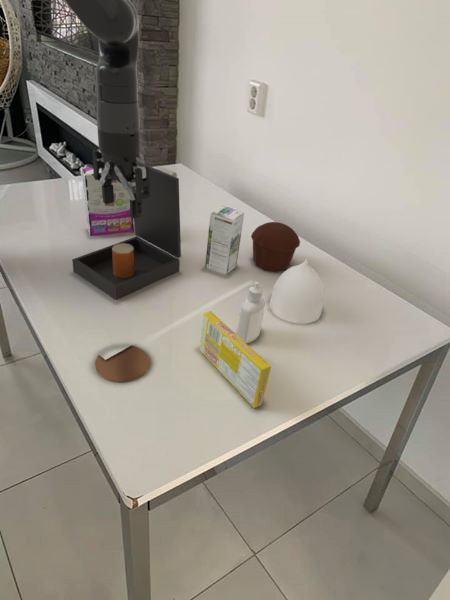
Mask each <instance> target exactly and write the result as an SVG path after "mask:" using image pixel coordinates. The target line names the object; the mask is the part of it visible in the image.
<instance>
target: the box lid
mask: <svg viewBox="0 0 450 600" xmlns="http://www.w3.org/2000/svg"><path fill="white" fill-rule="evenodd" d="M136 161H137V164H138V166H141V167H144V166H147V167H148V168H149V178H150V197H149V198H146V199H142V214H141V216H140V217H137V218H133V219H134V234H135V237H136V236H137V237H139V238H141V239H142V240H144V241H146V242H148V243H150V244H152V245H153V246H155V247H157V248H159V249H161V250H163V251H164V252H166V253H168V254H170V255H172V256H174V257H175V258H177V259H181V258H182V245H181V242H182V241H181V211H180V209H181V207H180V179H179V178H178V174H177V172H176V171H173V170H171V169H168V168H166V167H164V166H160V165H157V166H156V167H153V166H150V165H148V164H146V163H142V162H140V161H138V160H136ZM133 182H134V180H133V179H132V180H131V181H130V183H133ZM132 189H133V191H134V194H135V193H136V189H135V188H132ZM142 191H143V192H144V187H143V188H142Z"/></svg>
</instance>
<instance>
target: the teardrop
mask: <svg viewBox="0 0 450 600" xmlns="http://www.w3.org/2000/svg"><path fill="white" fill-rule="evenodd" d="M325 295H326V292H325V287H324V284H323V281H322V280H321V277H320V275H319V274H318V273H317V271H316V270H315V269H314V268H312V267H311V266H310V264H309V263H308V259H307V258H305V260H304V261H302V263H300V264H297V265H293V266H291V267H288V268H287V269H286V270H284V271H283V273H281V274H280V276H279V277H278V279H277V280H276V282H275V283H274V287H273V290H272V293H271V297H270V299H269V300H270V301H269V306H270V311H271V312H272V313H273V314H274V315H275V316H276V317H278V318H279V319H281V320H283V321H287V322H290V323H293V324H304V325H305V324H310V323H314V322H316V321H318V320H319V319H320V317H321V314H322V311H323V306H324V301H325Z"/></svg>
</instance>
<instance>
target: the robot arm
mask: <svg viewBox="0 0 450 600" xmlns="http://www.w3.org/2000/svg"><path fill="white" fill-rule="evenodd" d="M63 2H64V3H65V5H67V6H68V8H69V9H70V11H71V12H72V13H73V14H74V15H75V16H76V17H77V19H78V21H80V22H81V24H83V26H84V27H85V28H86V29H87V30H88V31H89V32H90V33H91V35H93V36H94V38H96V39H97V42H98V43H97V44H98V45H97V46H98V60H97V64H96V66H95V67H96V69H95V87H96V88H95V89H96V126H97V127H96V128H97V141H98V143H97V144H98V149H93V150H92V165H93V167H92V168H93V172H94V179H95V180H99V183H100V185H101V186H102V197H103V203H105V204H110V203H113V202H114V191H113V185H112V183H113V181H114V180H117V181H118V182H119V183H121V184H122V186H123V188H124V189H125V190H127V192H128V194H129V196H130V199H131V200H130V216H131V217H132V218H133V219H134V218H137V217H140V216H141V214H142V199H146V198H149V197H150V178H149V168H148V167H147V166H144V167H141V166H138V164H137V161H138V160H137V156H138V155H139V154H140V152H141V118H140V117H141V116H140V108H139V81H138V66H137V65H138V55H139V54H138V53H139V41H140V21H139V14H138V11H137V8H136V6H135V5H134V3H133V1H131V0H63ZM100 168H102V172H101V173H99V169H100ZM132 179H133V180H134V182H133V183H128V182H130V181H131V180H132ZM143 187H144V192H143V191H142V188H143ZM132 188H135V189H136V193H135V194H134V191H133V189H132Z"/></svg>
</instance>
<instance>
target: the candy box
mask: <svg viewBox="0 0 450 600" xmlns="http://www.w3.org/2000/svg"><path fill="white" fill-rule="evenodd" d="M199 352H200V353H202V354H203V356H204V357H205V358H206V359H207V360H208V361H209V362H210V363H211V364H212V365H213V366H214V367H215V368H216V370H217V371H218V372H219V373H220V374H221V375H222V376H223V377H224V378H225V379H226V380H227V381H228V383H229V384H230V385H231V386H232V387H233V388H234V389H235V390H236V391H237V392H238V393H239V394H240V395H241V396H242V398H243V399H245V401H247V403H249V405H250V406H251V407H252V408H253V409H256V408H258V407H260V406H262V405H263V402H264V398H265V393H266V389H267V384H268V380H269V377H270V372H271V368H272V366H271V365H270V364H269V363H268V362H267V361H266V360H265V359H264V358H263V357H261V356H260V355H259V354H258V353H257V352H256V351H255V350H254V349H253V348H252V347H250V345H248V343H247V344H246V343H245V342H244V341H243V340H242V339H241V338H239V337H238V336H237V333H236V332H235V331H233V330H232V329H231V328H230V327H229V326H228V325H227V324H226V323H224V322H223V321H222V320H221V319H220V318H219V317H218V316H217V315H216V314H215V313H214V312H213V311H208V312H204V313H203V318H202V327H201V336H200V343H199Z"/></svg>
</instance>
